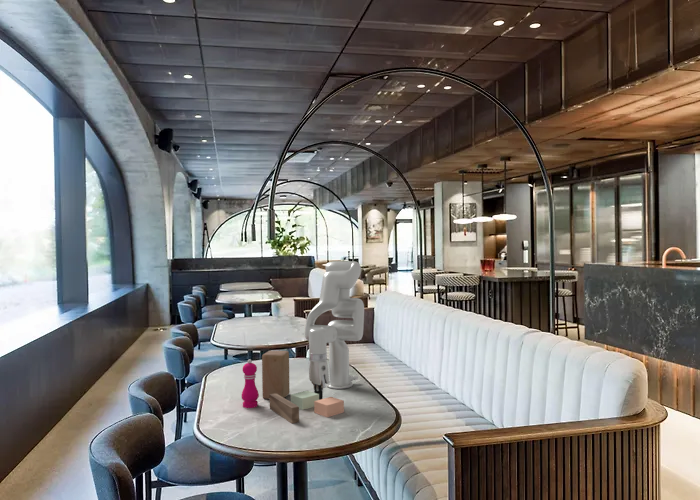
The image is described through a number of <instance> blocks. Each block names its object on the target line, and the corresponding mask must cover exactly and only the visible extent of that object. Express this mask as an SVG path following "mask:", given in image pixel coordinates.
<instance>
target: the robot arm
mask: <svg viewBox="0 0 700 500" xmlns="http://www.w3.org/2000/svg"><path fill="white" fill-rule="evenodd" d="M361 273H362V267H361V265H360V263H359V262H357V261H354V260H352V261H348V260H346V261H345V260H340V261H339V260H337V261H336V260H335V261H334V260H333V261H329V262H327V263H326V264H325V273H324V274H323V276H322V281H321V289H320V293H319V302H318V303H317V304H316V305H315V306H314V307H313V308H312V309H311V310H310V311H309V313H308V315H307V318H306V322H305V328H304V337H305V340H307V341H308V344H309V345H308V353H309V355H308V356H309V357H308V358H309V359H308V360H309V367H308V377H309V378H308V379H309V381H310V383H311V385H312V386H313V392H314V393H317V394H319V400H321V399H324V397H323V396H324V394H323V393H324V389H325V388H329V389H333V390H334V389H335V390H336V389H337V390H343V389H349V388H352V387H353V384H354V383H353V381H356V380H358V379H359V376H358V375H350V349H349V347H348V344H347V343H346V342H345V341H348V342H349V341H351V342H352V341H353V342H357V341H358V342H359V341H360V340H362V338H363V335H364V324H365V323H364V322H365V304H364V301H363V300H362V299H361V298H359V297H358V298H357V297H350V295H351V293H350V292H351V289H353V287H355V284H356V283H357V281H358V279H359V278H360V276H361ZM330 310H331V314H332V316H333V317H335V318H346V319H347V318H350V319H352V320H345V319H342V320H341V319H334V320H331V321H330V322H329V323H328V324H327V325H324V324H323V325H322V324H315V323H316V320H317V319H318V317H320V316H321V315H322V314H324V313H326V312H328V311H330ZM327 344H328V349H329V350H328V352H329V353H327ZM327 357H328V359H329V367H328V359H327Z"/></svg>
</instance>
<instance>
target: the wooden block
mask: <svg viewBox="0 0 700 500" xmlns="http://www.w3.org/2000/svg"><path fill="white" fill-rule="evenodd" d="M261 374H262V375H261V376H262V377H261V378H262V381H261V382H262V383H261V386H262V399H264V400H270V398H269V394H275V393H276V394H278V395H280V396H281V397H283V398H285V399H286V397H288V395H290V391H291V390H290V352H289V351H288V350H268V351H266V352H265V353H263V354H262V356H261Z"/></svg>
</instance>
